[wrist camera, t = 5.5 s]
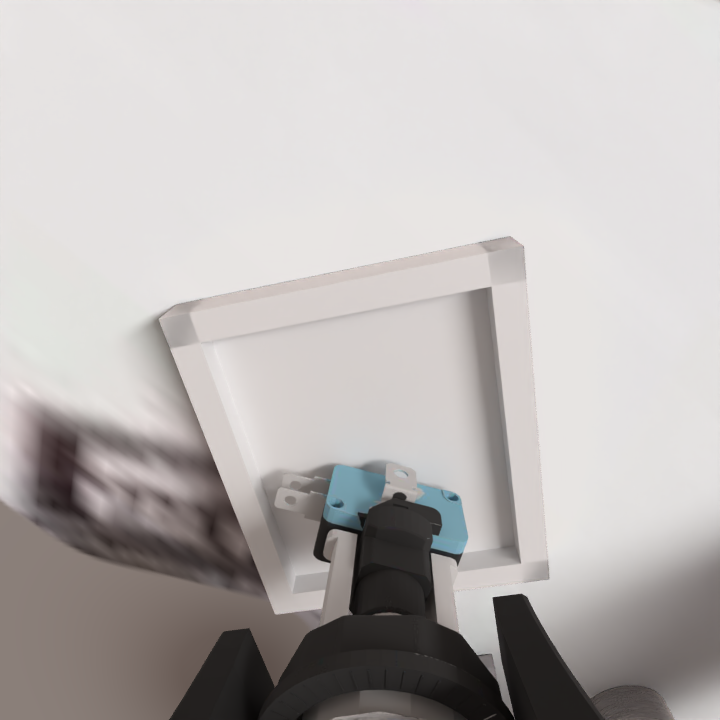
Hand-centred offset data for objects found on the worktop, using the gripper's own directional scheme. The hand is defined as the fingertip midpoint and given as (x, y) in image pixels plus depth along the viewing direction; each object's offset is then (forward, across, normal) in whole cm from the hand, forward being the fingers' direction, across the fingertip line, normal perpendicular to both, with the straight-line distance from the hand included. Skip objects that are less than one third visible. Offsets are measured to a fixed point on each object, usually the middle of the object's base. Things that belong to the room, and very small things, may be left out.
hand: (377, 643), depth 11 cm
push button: (+7, 0, +2) cm, 7 cm away
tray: (+8, 0, 0) cm, 8 cm away
